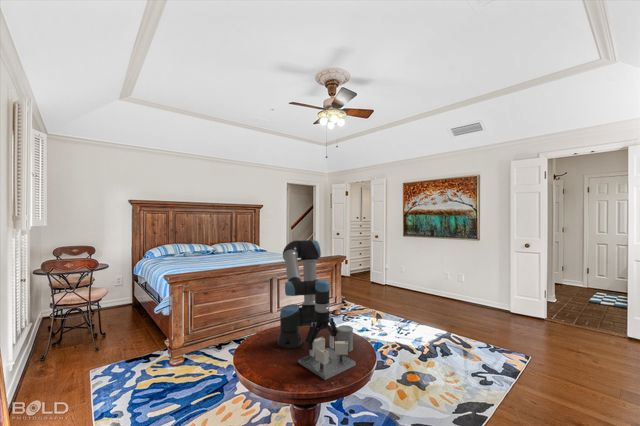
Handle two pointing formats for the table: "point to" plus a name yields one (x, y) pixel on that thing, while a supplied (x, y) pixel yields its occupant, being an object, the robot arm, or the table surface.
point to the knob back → (319, 343)
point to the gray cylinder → (345, 335)
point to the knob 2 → (341, 348)
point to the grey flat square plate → (329, 369)
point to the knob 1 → (322, 356)
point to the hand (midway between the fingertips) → (322, 351)
